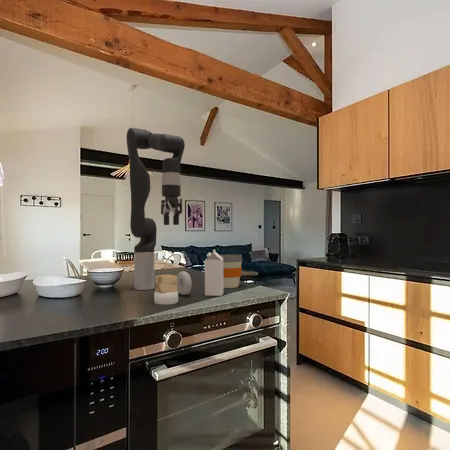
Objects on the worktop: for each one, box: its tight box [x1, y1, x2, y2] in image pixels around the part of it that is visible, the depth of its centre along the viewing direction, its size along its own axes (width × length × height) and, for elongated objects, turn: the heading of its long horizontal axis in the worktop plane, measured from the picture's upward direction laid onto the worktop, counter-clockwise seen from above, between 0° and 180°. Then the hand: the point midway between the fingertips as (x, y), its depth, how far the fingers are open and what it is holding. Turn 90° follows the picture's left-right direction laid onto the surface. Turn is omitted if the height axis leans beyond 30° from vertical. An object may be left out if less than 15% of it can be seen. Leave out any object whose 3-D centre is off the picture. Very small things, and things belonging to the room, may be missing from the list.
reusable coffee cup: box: [219, 253, 243, 289], centre depth 164 cm, size 13×13×15 cm
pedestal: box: [153, 290, 179, 305], centre depth 130 cm, size 9×9×4 cm
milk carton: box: [204, 249, 225, 297], centre depth 145 cm, size 7×7×19 cm
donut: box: [176, 270, 193, 296], centre depth 144 cm, size 10×4×10 cm, turn 39°
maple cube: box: [155, 274, 177, 294], centre depth 130 cm, size 6×6×6 cm
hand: (171, 224), depth 137 cm, fingers open, 8 cm apart
